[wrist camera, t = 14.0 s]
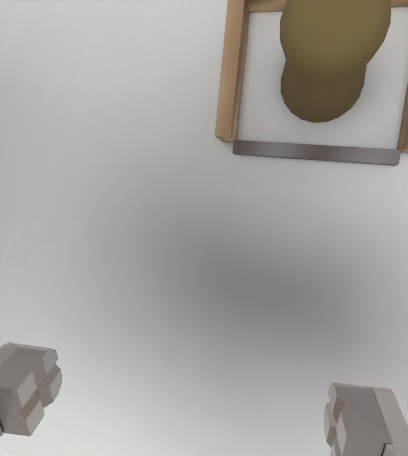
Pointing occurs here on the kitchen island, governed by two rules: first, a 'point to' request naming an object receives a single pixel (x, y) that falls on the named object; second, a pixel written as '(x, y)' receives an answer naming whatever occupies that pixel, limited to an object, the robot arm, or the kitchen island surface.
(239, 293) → the kitchen island surface
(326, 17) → the cork
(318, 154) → the bay
